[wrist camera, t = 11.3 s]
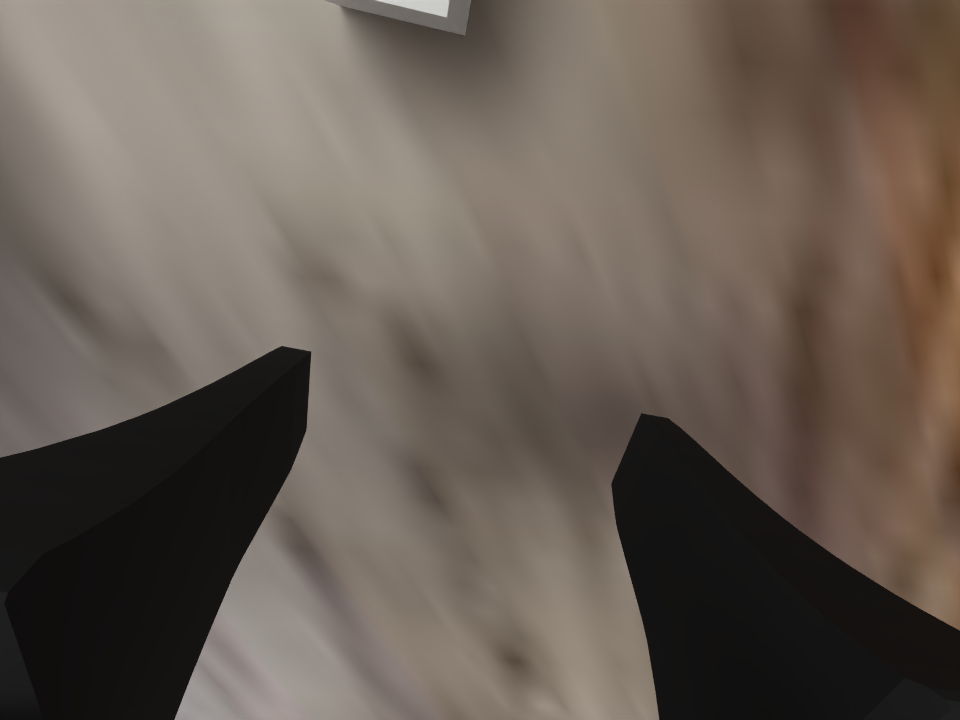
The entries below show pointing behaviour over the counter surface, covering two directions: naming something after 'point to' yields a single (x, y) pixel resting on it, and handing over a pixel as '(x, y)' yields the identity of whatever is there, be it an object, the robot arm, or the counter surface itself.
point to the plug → (418, 12)
